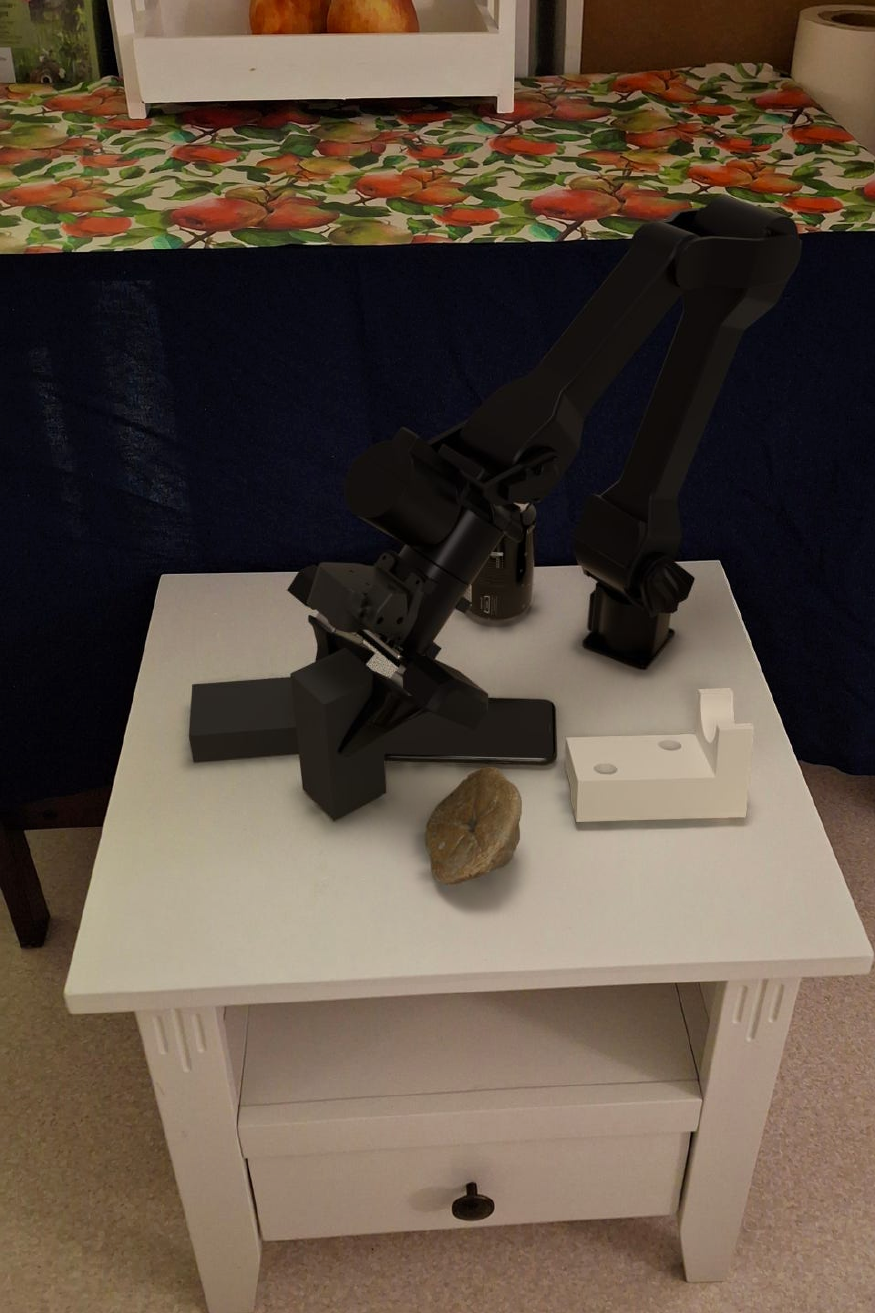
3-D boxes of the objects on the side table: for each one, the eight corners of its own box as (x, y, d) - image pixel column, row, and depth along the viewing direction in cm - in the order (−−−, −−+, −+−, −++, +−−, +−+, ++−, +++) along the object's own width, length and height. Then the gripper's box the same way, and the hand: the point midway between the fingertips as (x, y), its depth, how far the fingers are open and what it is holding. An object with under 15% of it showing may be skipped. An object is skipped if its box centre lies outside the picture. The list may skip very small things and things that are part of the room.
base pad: (336, 699, 106) (334, 673, 104) (340, 750, 101) (338, 723, 99) (196, 710, 105) (192, 683, 103) (193, 762, 100) (188, 735, 98)
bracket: (723, 771, 100) (730, 688, 97) (745, 817, 93) (754, 728, 90) (564, 776, 100) (567, 692, 97) (576, 821, 93) (579, 733, 90)
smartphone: (360, 763, 99) (557, 769, 99) (360, 755, 99) (558, 761, 98) (370, 700, 106) (555, 705, 105) (369, 692, 105) (556, 697, 104)
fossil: (487, 744, 93) (529, 815, 84) (525, 773, 95) (569, 845, 86) (408, 826, 94) (440, 904, 85) (446, 853, 96) (482, 932, 87)
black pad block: (354, 762, 99) (345, 646, 92) (386, 793, 96) (381, 676, 89) (302, 789, 97) (289, 673, 89) (334, 822, 94) (324, 704, 87)
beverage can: (513, 579, 120) (517, 472, 112) (544, 617, 115) (550, 508, 107) (449, 595, 118) (449, 487, 110) (478, 634, 113) (480, 524, 105)
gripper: (298, 471, 90) (186, 647, 91) (457, 587, 78) (325, 786, 80) (388, 525, 98) (284, 685, 100) (543, 637, 87) (422, 815, 89)
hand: (324, 737), depth 92 cm, fingers closed on black pad block, 4 cm apart
